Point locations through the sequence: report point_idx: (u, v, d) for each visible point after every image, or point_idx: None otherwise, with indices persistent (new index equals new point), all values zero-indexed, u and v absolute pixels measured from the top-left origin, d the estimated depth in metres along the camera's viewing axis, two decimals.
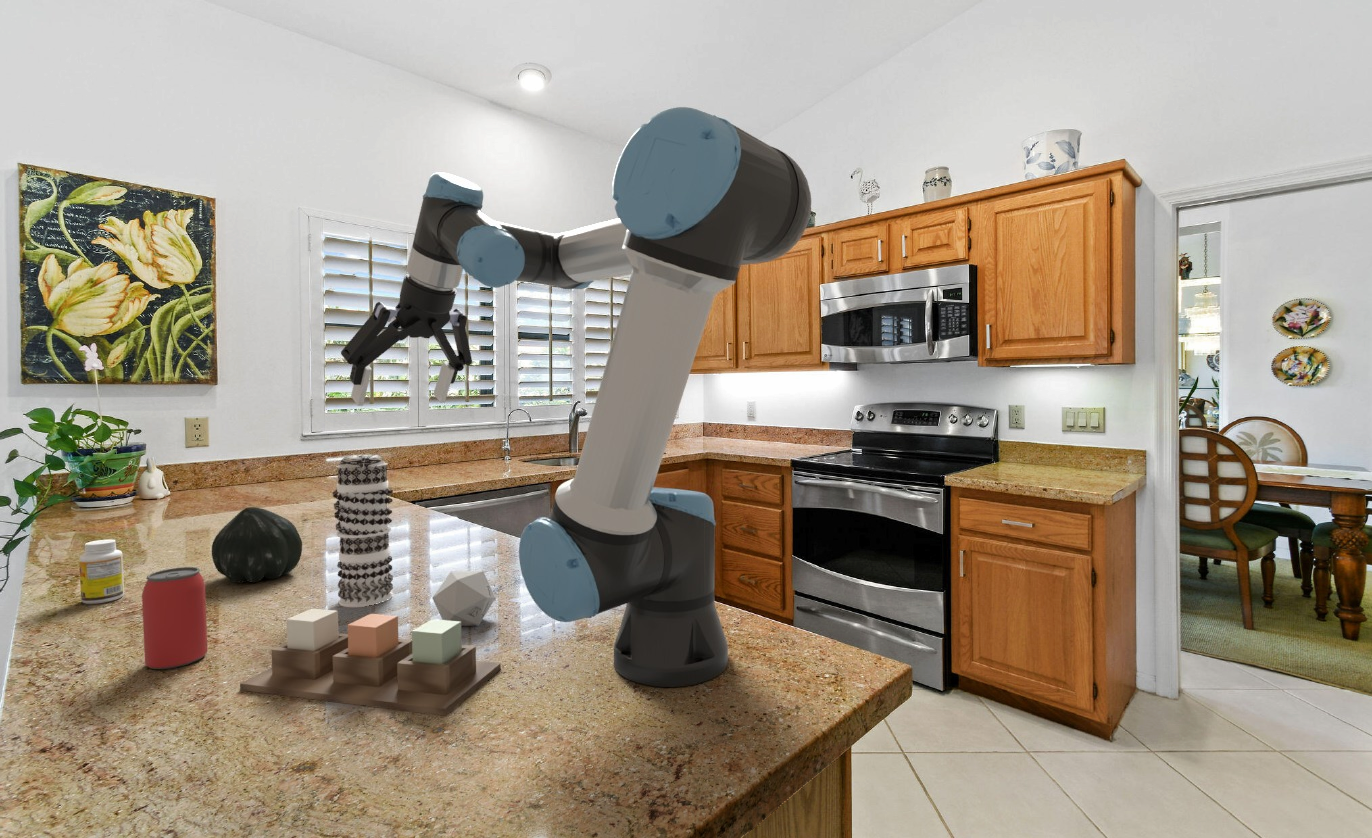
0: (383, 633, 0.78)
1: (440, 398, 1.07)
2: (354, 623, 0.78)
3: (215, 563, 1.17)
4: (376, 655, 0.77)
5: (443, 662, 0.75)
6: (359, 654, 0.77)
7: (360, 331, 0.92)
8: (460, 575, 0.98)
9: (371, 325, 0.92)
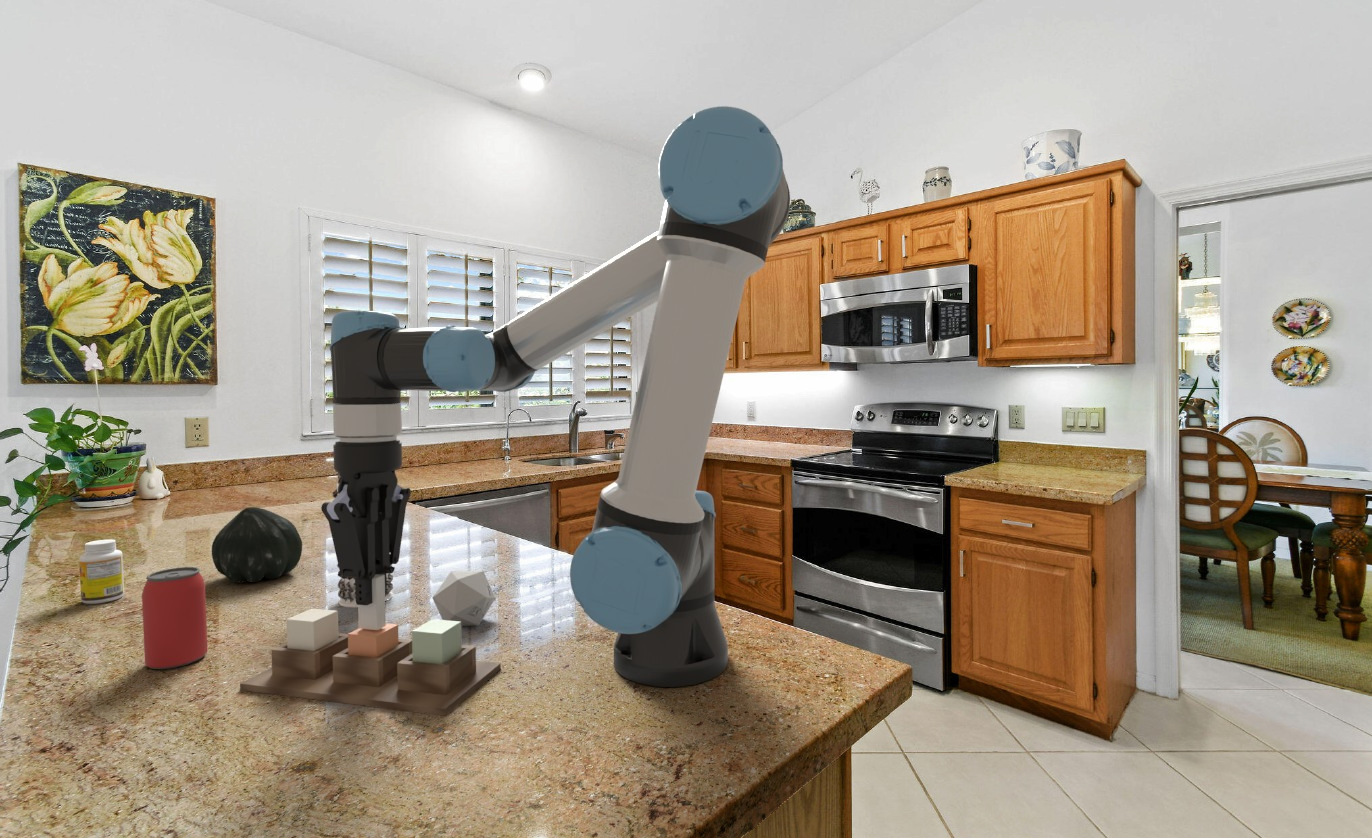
0: (383, 642, 0.78)
1: None
2: (354, 632, 0.78)
3: (215, 563, 1.17)
4: None
5: (443, 662, 0.75)
6: None
7: (337, 543, 0.74)
8: (460, 575, 0.98)
9: (341, 530, 0.73)
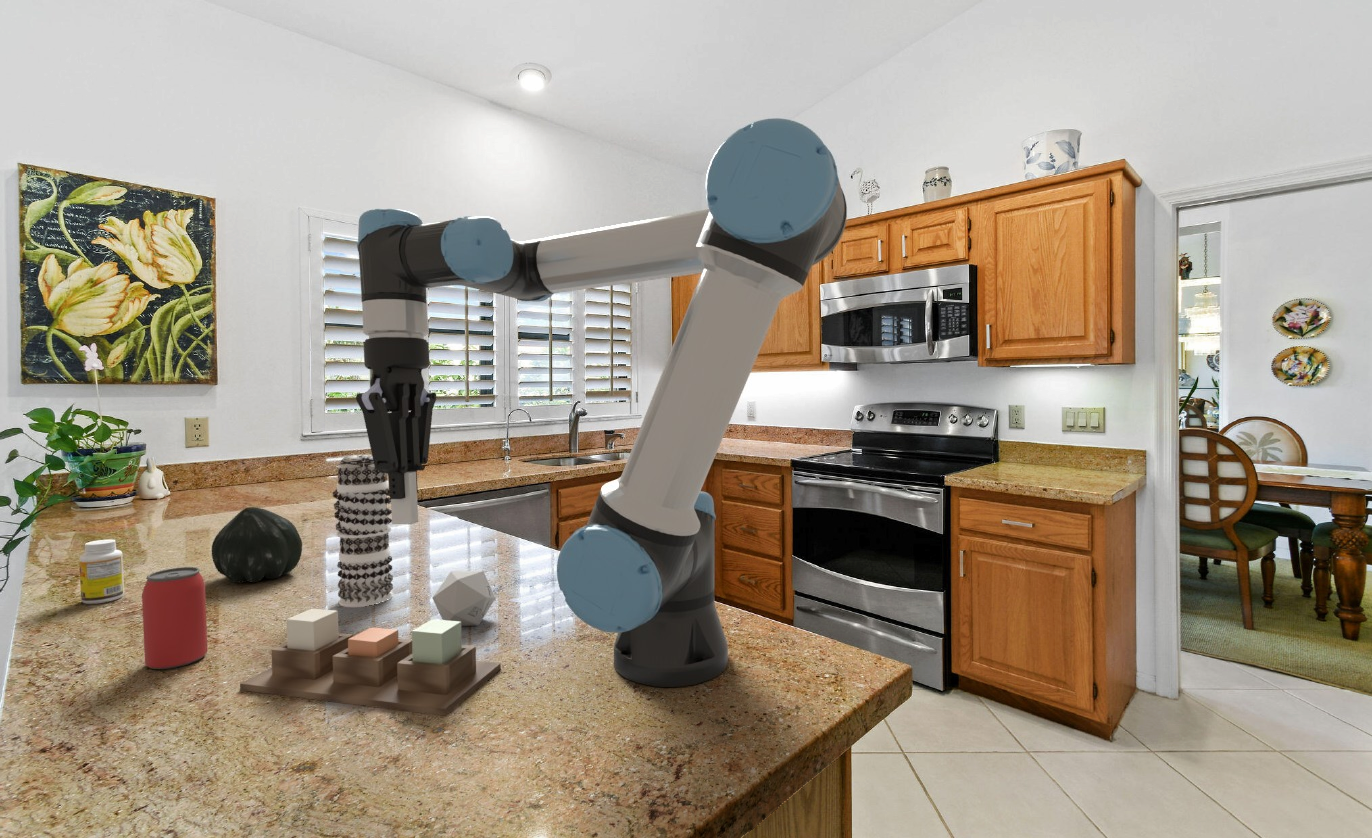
0: (383, 647, 0.78)
1: None
2: (354, 637, 0.78)
3: (215, 563, 1.17)
4: None
5: (443, 662, 0.75)
6: None
7: (371, 435, 0.76)
8: (460, 575, 0.98)
9: (376, 420, 0.75)
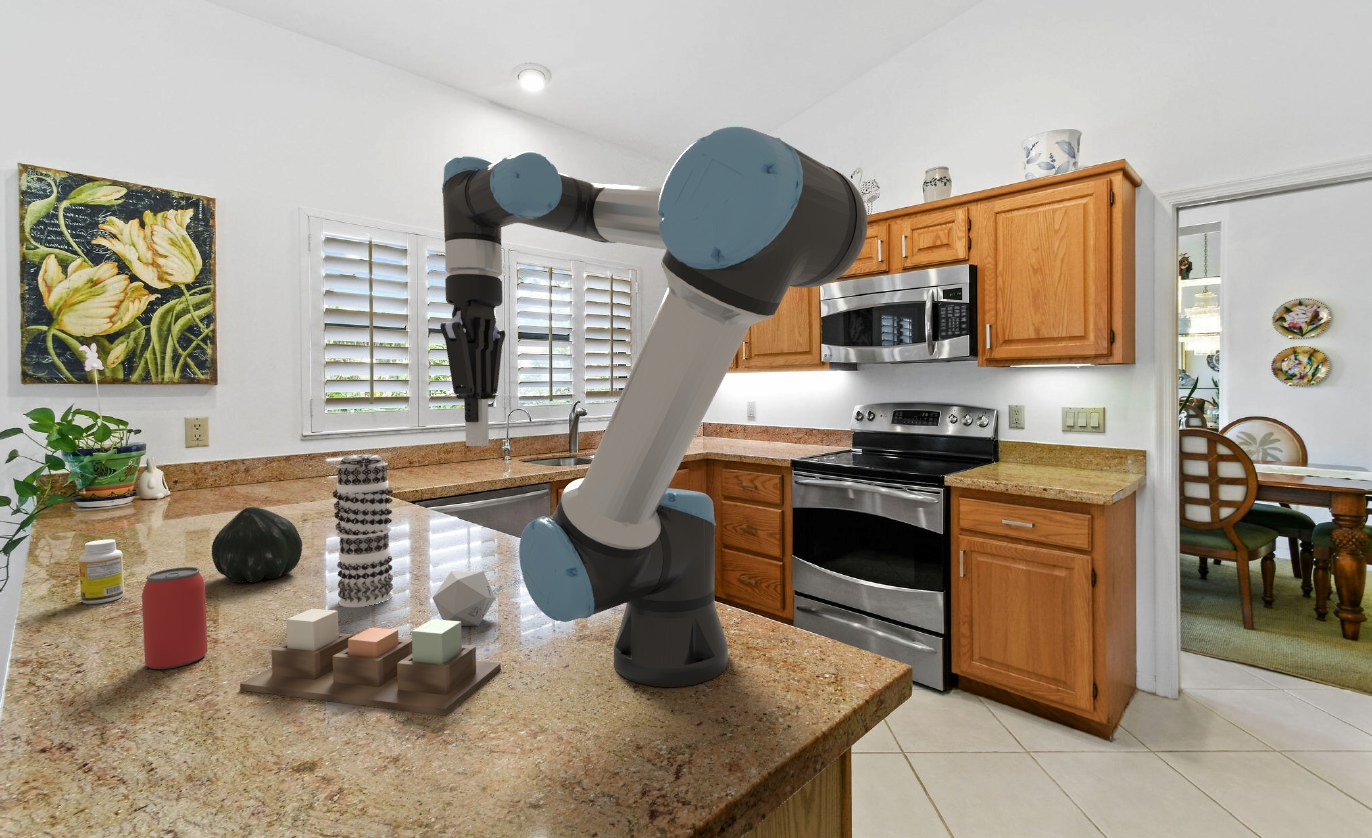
0: (383, 647, 0.78)
1: None
2: (354, 637, 0.78)
3: (215, 563, 1.17)
4: None
5: (443, 662, 0.75)
6: None
7: (451, 361, 0.84)
8: (460, 575, 0.98)
9: (457, 348, 0.83)
